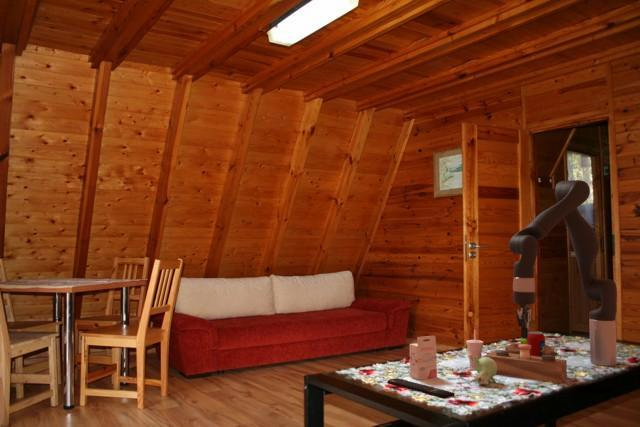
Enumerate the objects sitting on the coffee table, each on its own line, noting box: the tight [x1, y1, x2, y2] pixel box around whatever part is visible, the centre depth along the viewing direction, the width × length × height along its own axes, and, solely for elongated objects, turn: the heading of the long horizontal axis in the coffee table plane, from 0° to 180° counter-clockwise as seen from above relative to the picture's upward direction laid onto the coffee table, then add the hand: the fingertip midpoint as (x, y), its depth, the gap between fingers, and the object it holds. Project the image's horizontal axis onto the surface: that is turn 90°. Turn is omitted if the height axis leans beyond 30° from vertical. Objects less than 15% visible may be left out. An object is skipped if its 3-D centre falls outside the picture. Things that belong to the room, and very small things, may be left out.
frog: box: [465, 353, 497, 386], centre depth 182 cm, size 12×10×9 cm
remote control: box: [387, 377, 455, 399], centre depth 174 cm, size 5×24×1 cm, turn 40°
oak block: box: [484, 350, 568, 384], centre depth 193 cm, size 10×26×6 cm, turn 56°
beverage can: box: [527, 330, 546, 357], centre depth 212 cm, size 7×7×12 cm
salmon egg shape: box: [518, 344, 531, 359], centre depth 193 cm, size 4×4×7 cm
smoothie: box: [465, 329, 484, 368], centre depth 206 cm, size 6×6×14 cm
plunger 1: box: [495, 349, 509, 357], centre depth 198 cm, size 4×4×7 cm
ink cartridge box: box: [409, 335, 438, 381], centre depth 190 cm, size 9×5×15 cm, turn 117°
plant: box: [504, 326, 556, 357], centre depth 232 cm, size 20×20×11 cm
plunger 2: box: [542, 355, 556, 362], centre depth 189 cm, size 4×4×7 cm
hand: (524, 338), depth 193 cm, fingers closed
